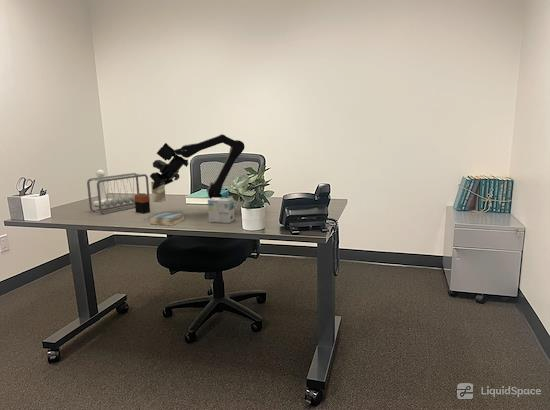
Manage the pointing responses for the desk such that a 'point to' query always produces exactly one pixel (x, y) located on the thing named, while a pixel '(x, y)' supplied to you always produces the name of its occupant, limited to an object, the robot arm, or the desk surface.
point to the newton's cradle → (113, 201)
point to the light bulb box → (221, 210)
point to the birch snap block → (158, 193)
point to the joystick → (101, 189)
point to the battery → (142, 203)
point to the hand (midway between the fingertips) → (155, 188)
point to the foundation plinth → (167, 219)
